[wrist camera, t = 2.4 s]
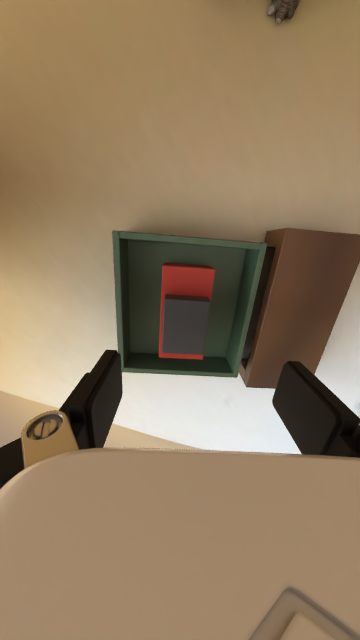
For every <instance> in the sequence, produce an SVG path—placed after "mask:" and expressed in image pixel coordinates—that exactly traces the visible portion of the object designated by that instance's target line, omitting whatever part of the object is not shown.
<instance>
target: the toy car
mask: <svg viewBox="0 0 360 640" xmlns="http://www.w3.org/2000/svg"><path fill="white" fill-rule="evenodd" d="M214 276H215V269H214V268H212V267H211V266H205V265H192V264H179V263H166V262H164V264H163V266H162V287H161V312H160V336H159V357H162V358H181V359H201V360H203V355H204V348H205V341H206V333H207V326H208V319H209V312H210V305H211V298H212V291H213V284H214Z"/></svg>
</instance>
